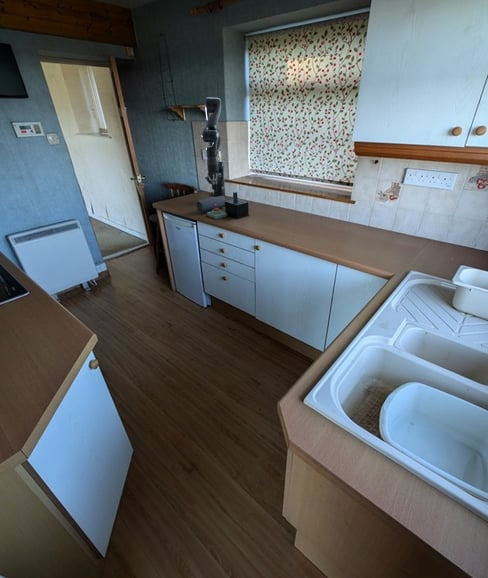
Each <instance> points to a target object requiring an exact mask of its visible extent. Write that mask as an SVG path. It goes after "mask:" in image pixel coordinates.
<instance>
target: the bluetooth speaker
mask: <svg viewBox="0 0 488 578" xmlns="http://www.w3.org/2000/svg"><path fill="white" fill-rule="evenodd" d="M225 201H227V197H226V198H225V197H224V196H218V197H214V196H212V197H208V198H204V199H201V200H197V202H196V209H197V211H198V212H199V213H205V212H206V213H207V212H211V211H212V210H214V208H219V209H222V208H225Z"/></svg>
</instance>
